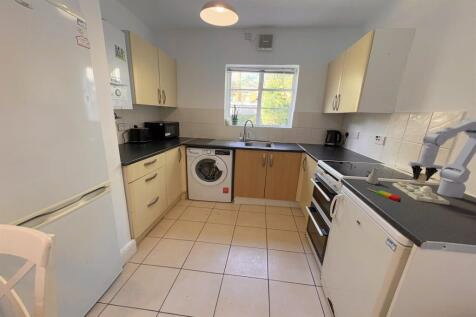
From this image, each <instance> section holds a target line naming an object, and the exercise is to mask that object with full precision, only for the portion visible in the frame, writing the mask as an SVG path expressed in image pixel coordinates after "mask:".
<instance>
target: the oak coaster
mask: <svg viewBox="0 0 476 317" xmlns="http://www.w3.org/2000/svg"><path fill="white" fill-rule="evenodd" d="M397 183H399V184H406V185H413V184H412V183H409V182H405V181H398V182H397Z"/></svg>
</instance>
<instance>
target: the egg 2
mask: <svg viewBox="0 0 476 317" xmlns="http://www.w3.org/2000/svg"><path fill="white" fill-rule="evenodd" d="M421 187H422V188H421V190H420V192H421V193H423V194H430V195H431V192H432V193H433V189H432V187H430V186H428V185H424V186H421Z"/></svg>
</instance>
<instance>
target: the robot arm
mask: <svg viewBox="0 0 476 317" xmlns="http://www.w3.org/2000/svg"><path fill="white" fill-rule="evenodd" d="M462 132H464V134H465V135H467V136H468V138H467V140H466V142H465V143H464V145H463V147H462V148H461V150H460V151H459V153H458V154H457V155H456V158H454V160H453V162H452V163H448V164H445V166H443V165H439V164H435V161H436V159H437V156H438V153H439V151H440V148H441V146H443V145H445V144H446V142H447V141H448V140H451V139H453V138H455V137H456V136H457V135H458V134H459V133H462ZM422 141H423V145H422V146H423V148H422V151H421V155H420V158H419V160H418V162H417V161H408V166H410V168H411V169H412V180H414V179H415V180H417V179H418V177H419V174H420V173H422V171H423V170H424V169H423V168H425V172H424V174H426V176H427V179H426V181H425V182H429V180H430V179H431V178H432V177H433V176H434V175H435V174H437V173H439V174H438V175H439V177H440V180H441V181H440V183H439V186H438V189H437V191H436V193H437V194H439V195H441V196H444V197H449V198H458V199H462V198H463V197H464V195H465V192H466V188H467V186H466V184H465V183H467V181H468V180H469V178H470V174H471V170H470V169H469V168H468V167H467V166H468V165H469V163H470V162H471V160H472V159H473V157H474V156H475V155H476V118H468V117H467V118H465V119H462V121H461V122H460V123H459V124H457V125H455V126H453V127H452V126H451V127H450V126H446V127H444V128H443V129H440V130H438V131H436V132H432V133H431V132H430V133H427V134H426V135H425V136H424V137H423V139H422Z"/></svg>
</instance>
